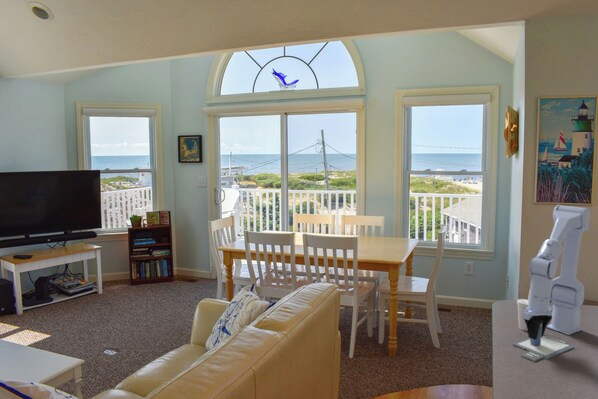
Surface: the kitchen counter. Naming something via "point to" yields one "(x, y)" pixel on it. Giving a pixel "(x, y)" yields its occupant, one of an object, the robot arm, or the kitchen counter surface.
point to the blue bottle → (538, 340)
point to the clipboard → (545, 346)
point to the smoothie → (522, 307)
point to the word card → (532, 356)
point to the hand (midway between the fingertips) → (535, 337)
